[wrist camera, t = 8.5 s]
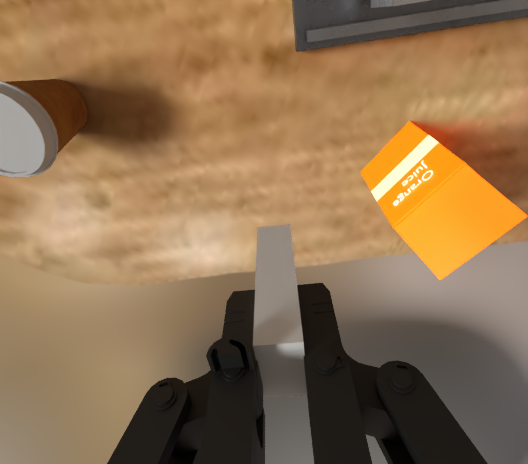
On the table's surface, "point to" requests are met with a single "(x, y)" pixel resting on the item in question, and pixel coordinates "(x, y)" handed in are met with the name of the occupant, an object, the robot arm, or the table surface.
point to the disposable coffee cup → (37, 124)
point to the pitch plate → (390, 19)
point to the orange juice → (437, 200)
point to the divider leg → (392, 2)
